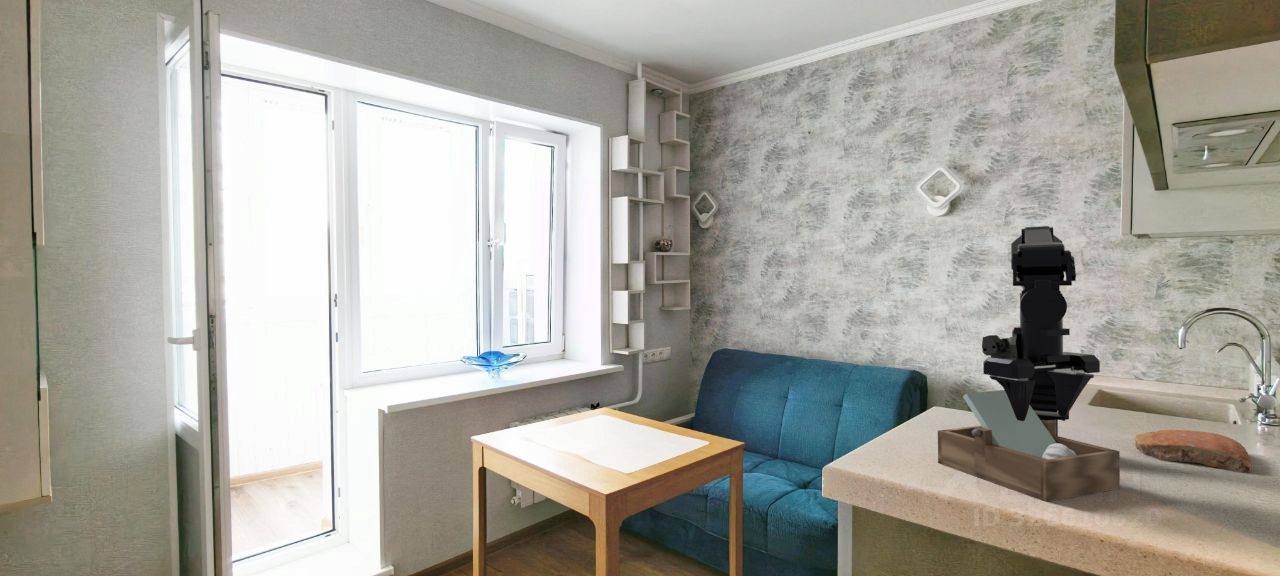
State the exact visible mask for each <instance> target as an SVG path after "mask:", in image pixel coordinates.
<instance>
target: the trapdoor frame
mask: <svg viewBox="0 0 1280 576" xmlns="http://www.w3.org/2000/svg"><path fill="white" fill-rule="evenodd" d="M1041 422H1042V423H1043V424H1044V426H1045V427H1046V429H1047V430H1048V431H1049V433H1050V434H1051V436H1052V437H1053V438H1054V440H1055V441H1056V443H1059V444H1063V445H1065V446H1066V447H1068V448H1069V449H1070V450H1072V451H1074V452H1075V453H1076V456H1069V457H1062V458H1056V459H1049V460H1047V459H1044V458H1040V457H1037V456H1033V455H1030V454H1026V453H1023V452H1020V451H1016V450H1013V449H1009V448H1006V447H1002V446H999V445H995V444H993V443H992V430H989V429H985V428H982V426H981V425H974V426H967V427H959V428H958V427H957V428H949V429H941V430H937V463H938V464H940V465H942V466H946V467H949V468H950V469H953V470H956V471H960V472H962V473H965V474H969V475H971V476H973V477H976V478H979V479H983V480H984V481H987V482H990V483H993V484H996V485H999V486H1001V487H1005V488H1007V489H1009V490H1013V491H1016V492H1018V493H1022V494H1024V495H1027V496H1030V497H1033V498H1035V499H1037V500H1041V501H1043V502H1051V501H1055V500H1056V501H1057V500H1063V499H1067V498H1074V497H1079V496H1085V495H1092V494H1096V493H1101V492H1108V491H1113V490H1118V489H1121V488H1120V487H1121V486H1120V485H1121V478H1120V477H1121V474H1120V473H1121V471H1120V470H1121V469H1120V467H1121V464H1120V460H1121V459H1120V457H1121V456H1120V450H1117V449H1112V448H1107V447H1104V446H1099V445H1094V444H1092V443H1088V442H1084V441H1080V440H1075V439H1071V438H1068V437H1067V438H1066V437H1064V436H1059V435H1058V436H1055V435H1054V427H1056V422H1055V421H1054V420H1050V421H1045V420H1041Z"/></svg>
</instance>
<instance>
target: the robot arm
mask: <svg viewBox="0 0 1280 576" xmlns="http://www.w3.org/2000/svg"><path fill="white" fill-rule="evenodd" d="M1020 232H1021V235H1020V236H1019V237H1017V238H1016V239H1015V240H1014V241H1013V242H1012V243H1011V244H1010V246H1011V249H1010V250H1011V252H1010V253H1011V254H1010V258H1011V259H1010V263H1011V270H1012V286H1013V287H1021V288H1022V289H1021V292H1019V326H1016V327H1013V329H1012V332H1011V334H1012V335H1011V336H1009V337H1007V338H1005V337H1004V338H1000V337H999V335H997V334H991V335H986V336H982V341H981V348H982V349H981V351H982V353H983V354H984V355H985V356H987V357H986V359H985V360H984V361H983V363H982V364H983V367H982V368H983V370H982V371H983V374H982V375H986V376H989V378H990V380H993V381H996V382H997V383H998V384H999V385H1000V386H1001V387H1002V388H1003V390H1005V392H1006V394H1007V396H1008V399H1009V401H1010V404H1011V406H1012V409H1013V411H1014V414H1015V416H1016V419H1017V420H1019V421H1025V418H1026V416H1027V413H1028V409H1029V405H1030V406H1031V408H1032V409H1033V410H1034V412H1035V413H1036V415H1037V416H1038V417H1039V419H1040V420H1045V421H1050V420H1054V421H1055V422H1056V427H1054V435H1055V436H1059V431H1058V430H1059V424H1058V421H1062V422H1063V421H1065V422H1066V421H1067V420H1070V411H1071V410H1072V408H1073V406H1074V405H1075V403H1076V401H1077V399H1078V397H1080V395H1081V393H1082V392H1083V390H1084V389H1085V388H1086V386H1087V385H1088V383H1089V382H1090V380H1091V379H1094V378H1095V374H1096V373H1100V372H1101V365H1100V364H1101V363H1100V362H1101V361H1100V359H1099V358H1097V357H1096V355H1094V354H1092V353H1091V354H1090V353H1079V352H1071V351H1064V336H1070V334H1071V333H1070V331H1071V330H1070V328H1066V327H1065V328H1064V327H1063V326H1064V323H1063V322H1064V319H1063V318H1064V317H1065V316H1066V314H1067V310H1068V303H1067V302H1068V301H1066V298H1065V296H1064V295H1063V293H1062V291H1061V289H1060V287H1061V286H1063V287H1064V286H1065V287H1066V286H1067V287H1068V286H1073V282H1076V281H1077V280H1076V279H1077V273H1076V261H1075V257H1074V256H1073V255H1072V252H1071V251H1070V250H1069V249H1068V250H1067V249H1066V250H1065V244H1063V241H1062V240H1061V239H1060V238H1059V237H1057V235H1054V227H1053V226H1052V227H1051V226H1048V225H1046V226H1045V225H1043V226H1042V225H1040V226H1025V227H1024V228H1021V231H1020ZM988 356H989V357H988ZM1093 373H1094V374H1093Z"/></svg>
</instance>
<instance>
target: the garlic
mask: <svg viewBox="0 0 1280 576" xmlns="http://www.w3.org/2000/svg"><path fill="white" fill-rule="evenodd" d="M1069 456H1076V453H1075V452H1074V451H1072V450H1070V449H1069V448H1068V447H1066V446H1065V445H1063V444H1059V443H1055V444H1051V445H1049V446H1048V447H1047V449H1046V450H1045V452H1044V453H1043V455H1042V458H1044V459H1047V460H1049V459H1056V458H1062V457H1069Z"/></svg>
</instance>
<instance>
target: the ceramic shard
mask: <svg viewBox="0 0 1280 576" xmlns="http://www.w3.org/2000/svg"><path fill="white" fill-rule="evenodd" d="M1134 445H1135V449H1137V450H1138V451H1139V452H1140V453H1141V454H1143V455H1146V456H1148V457H1152V458H1156V459H1157V460H1159V461H1162V462H1163V461H1164V462H1182V463H1184V462H1185V463H1196V464H1201V465H1204V466H1207V467H1214V468H1219V469H1223V470H1227V471H1234V472H1238V473H1245V474H1246V473H1249V472H1251V470H1252V463H1251V461H1252V460H1251V458H1250V456H1249V453H1248V451H1247V450H1246V448H1245V447H1244V446H1243V445H1242V444H1241V443H1240V442H1238V441H1237V440H1235V439H1234V438H1231V437H1229V436H1225V435H1221V434H1218V433H1214V432H1210V431H1200V430H1199V431H1197V430H1186V429H1185V430H1184V429H1163V430H1157V431H1150V432H1149V431H1147V432H1144V433H1140V434H1136V435H1135V437H1134Z"/></svg>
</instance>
